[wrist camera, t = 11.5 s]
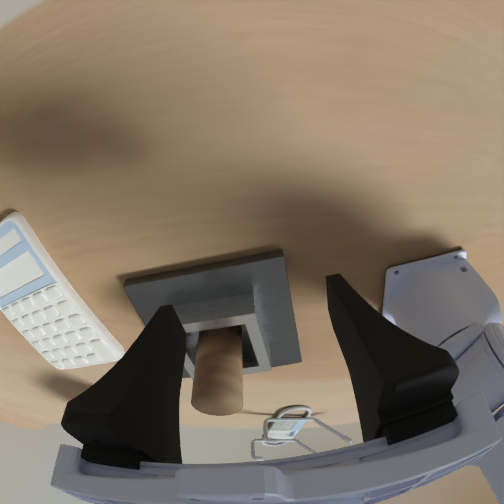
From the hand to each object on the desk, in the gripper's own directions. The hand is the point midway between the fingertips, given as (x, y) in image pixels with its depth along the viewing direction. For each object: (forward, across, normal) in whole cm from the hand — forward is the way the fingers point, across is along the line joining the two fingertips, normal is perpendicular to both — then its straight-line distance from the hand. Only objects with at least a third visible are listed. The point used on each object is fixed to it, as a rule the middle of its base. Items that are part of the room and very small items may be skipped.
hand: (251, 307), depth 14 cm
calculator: (+11, +25, +5) cm, 28 cm away
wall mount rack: (+11, 0, +38) cm, 40 cm away
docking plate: (+10, +5, +11) cm, 16 cm away
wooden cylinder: (+9, +5, +11) cm, 15 cm away
